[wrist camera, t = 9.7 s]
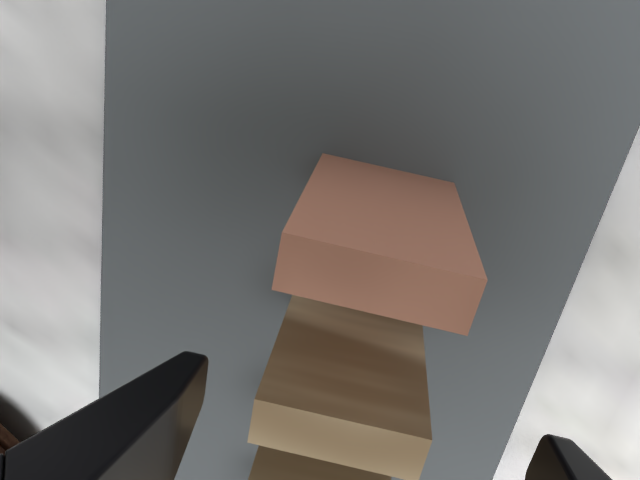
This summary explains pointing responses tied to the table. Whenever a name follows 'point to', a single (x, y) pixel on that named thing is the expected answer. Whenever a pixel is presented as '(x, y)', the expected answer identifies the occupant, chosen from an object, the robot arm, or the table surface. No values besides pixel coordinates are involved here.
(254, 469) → the domino
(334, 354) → the domino
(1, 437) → the brown animal figurine
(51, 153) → the table surface
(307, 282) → the domino
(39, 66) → the table surface
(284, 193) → the mat
